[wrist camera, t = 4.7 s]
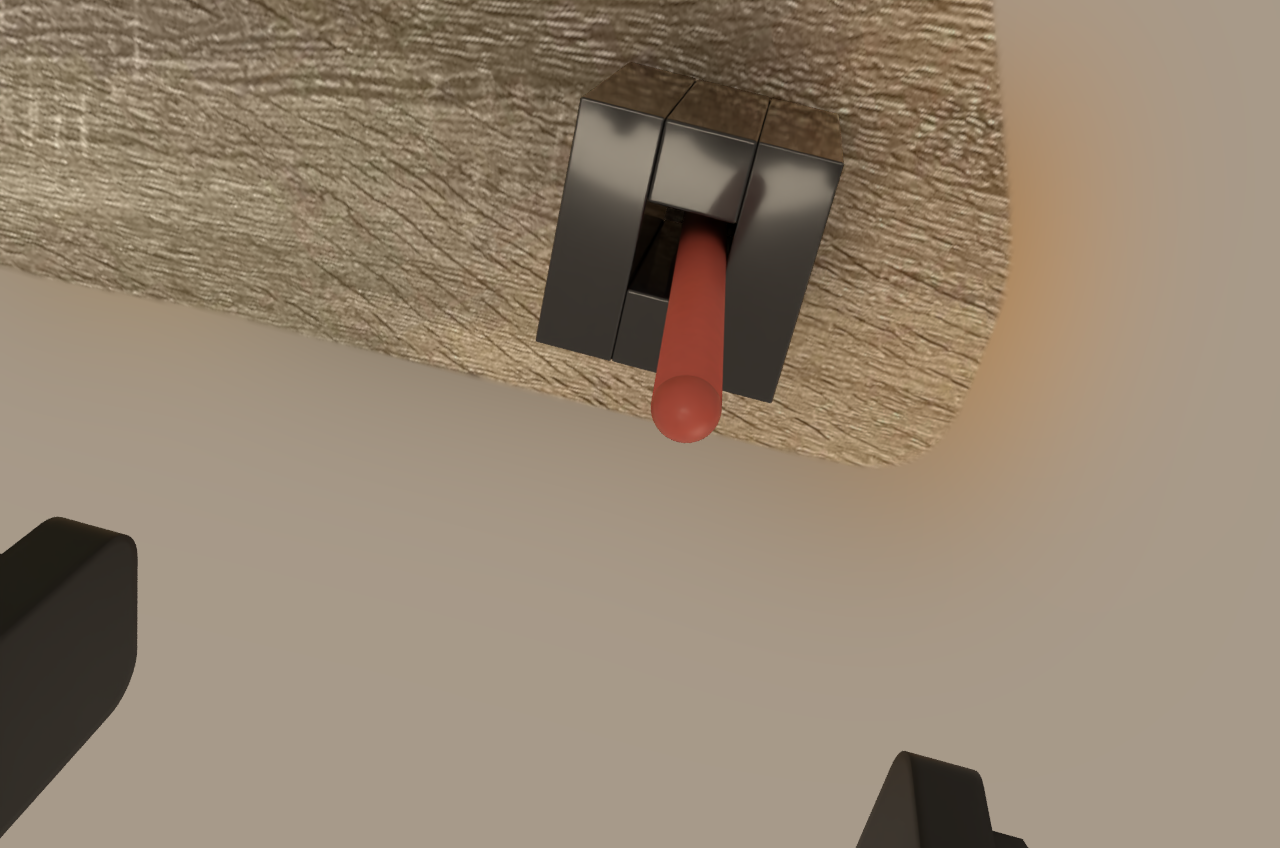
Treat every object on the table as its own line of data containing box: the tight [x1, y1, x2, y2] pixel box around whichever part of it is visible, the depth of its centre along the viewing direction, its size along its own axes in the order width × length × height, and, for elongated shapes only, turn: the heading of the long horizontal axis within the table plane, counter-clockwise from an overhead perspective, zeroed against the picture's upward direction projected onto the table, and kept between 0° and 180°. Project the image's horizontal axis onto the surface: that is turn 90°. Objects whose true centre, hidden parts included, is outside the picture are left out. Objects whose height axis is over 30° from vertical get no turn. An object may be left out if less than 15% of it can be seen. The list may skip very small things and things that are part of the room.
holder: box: [536, 62, 844, 403], centre depth 29 cm, size 6×6×7 cm
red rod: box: [651, 211, 727, 443], centre depth 25 cm, size 1×1×16 cm
